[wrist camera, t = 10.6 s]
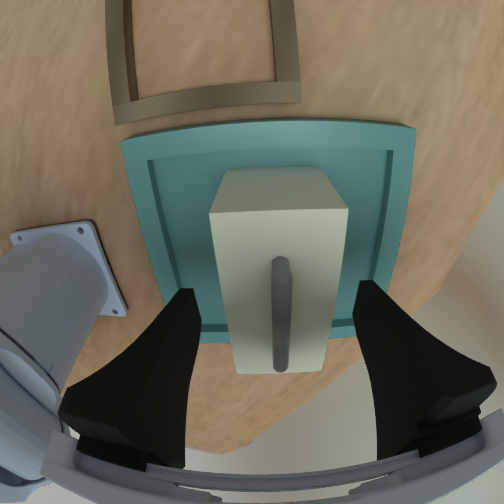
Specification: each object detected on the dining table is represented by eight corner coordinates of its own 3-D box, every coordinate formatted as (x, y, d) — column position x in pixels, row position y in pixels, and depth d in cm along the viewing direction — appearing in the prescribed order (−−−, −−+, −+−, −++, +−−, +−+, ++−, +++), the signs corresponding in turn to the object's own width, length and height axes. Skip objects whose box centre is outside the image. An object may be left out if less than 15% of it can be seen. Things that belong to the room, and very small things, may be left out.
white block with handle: (242, 308, 18) (235, 392, 13) (226, 169, 13) (202, 231, 8) (310, 305, 17) (324, 388, 12) (319, 165, 13) (359, 225, 7)
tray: (183, 326, 20) (179, 342, 19) (133, 135, 13) (120, 140, 11) (368, 319, 19) (373, 334, 18) (402, 124, 12) (415, 128, 10)
